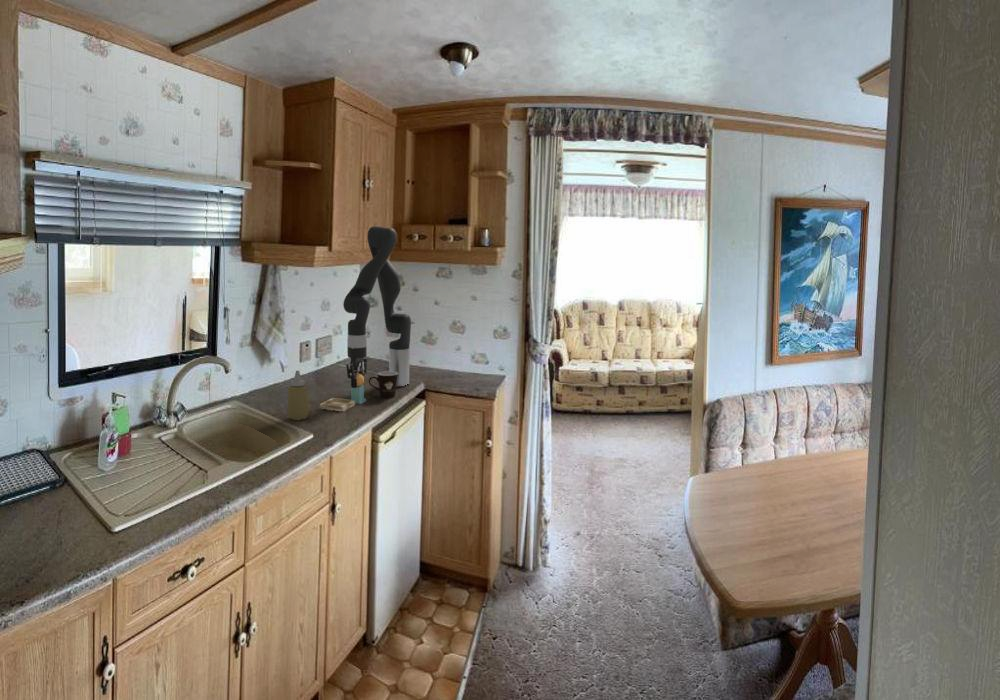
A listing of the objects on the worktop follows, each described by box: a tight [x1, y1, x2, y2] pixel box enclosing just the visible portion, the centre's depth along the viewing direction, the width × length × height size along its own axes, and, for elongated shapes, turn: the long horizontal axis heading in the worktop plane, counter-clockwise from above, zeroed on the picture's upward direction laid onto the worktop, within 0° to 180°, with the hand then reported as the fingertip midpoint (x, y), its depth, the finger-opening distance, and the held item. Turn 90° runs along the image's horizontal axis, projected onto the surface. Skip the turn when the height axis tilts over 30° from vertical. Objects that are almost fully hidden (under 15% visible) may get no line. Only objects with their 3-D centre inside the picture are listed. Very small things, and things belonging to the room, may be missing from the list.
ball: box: [349, 373, 365, 387], centre depth 233 cm, size 6×6×6 cm
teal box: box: [350, 384, 367, 405], centre depth 234 cm, size 5×5×7 cm
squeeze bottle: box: [286, 370, 311, 421], centre depth 210 cm, size 8×8×18 cm
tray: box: [319, 397, 356, 412], centre depth 227 cm, size 10×10×2 cm
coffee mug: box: [368, 370, 398, 399], centre depth 245 cm, size 12×9×10 cm
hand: (357, 385), depth 234 cm, fingers closed on ball, 5 cm apart
